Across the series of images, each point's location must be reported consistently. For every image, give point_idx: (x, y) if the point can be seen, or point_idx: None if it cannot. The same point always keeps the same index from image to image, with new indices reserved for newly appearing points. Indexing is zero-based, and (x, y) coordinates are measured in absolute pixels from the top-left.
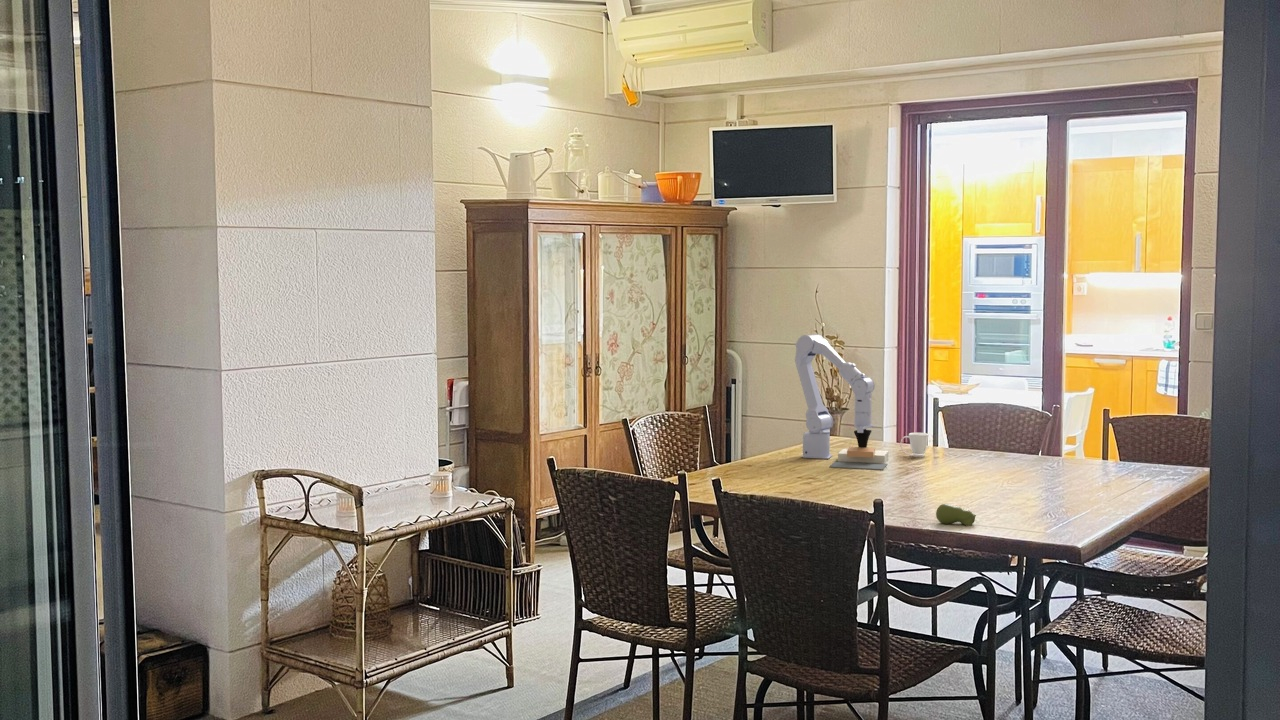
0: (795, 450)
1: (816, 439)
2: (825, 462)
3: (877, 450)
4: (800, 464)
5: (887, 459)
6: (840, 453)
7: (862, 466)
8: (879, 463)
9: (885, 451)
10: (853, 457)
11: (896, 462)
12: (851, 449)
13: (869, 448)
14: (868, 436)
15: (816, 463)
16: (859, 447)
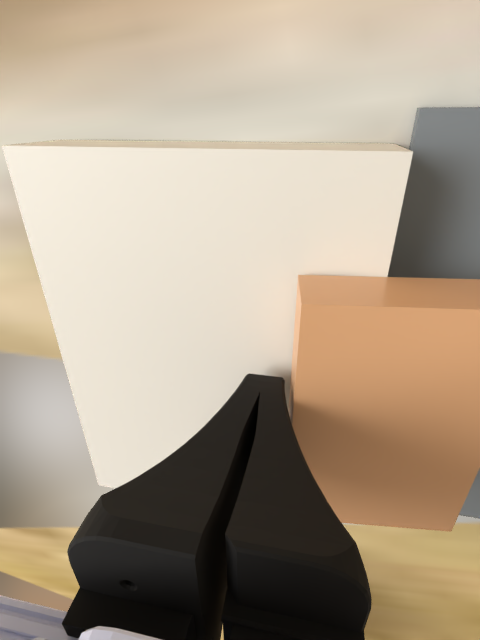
0: (45, 576)
1: None
2: (357, 525)
3: (43, 262)
4: (452, 616)
5: (122, 141)
6: None
7: None
8: (421, 197)
9: (63, 175)
10: None
11: (218, 15)
12: (394, 504)
13: (345, 365)
14: (301, 500)
15: (405, 561)
16: (304, 451)
